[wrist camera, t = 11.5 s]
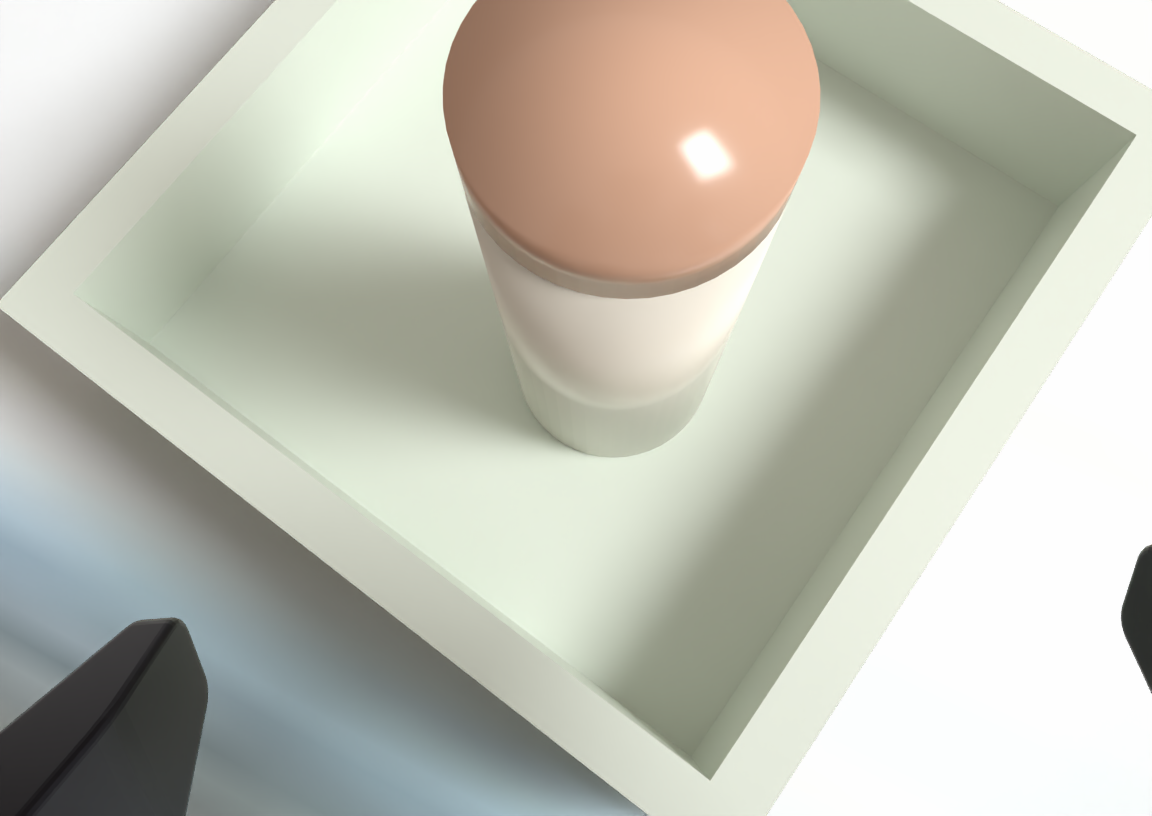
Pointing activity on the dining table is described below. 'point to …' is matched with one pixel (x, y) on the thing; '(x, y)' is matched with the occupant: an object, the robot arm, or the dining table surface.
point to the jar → (626, 192)
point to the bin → (573, 478)
